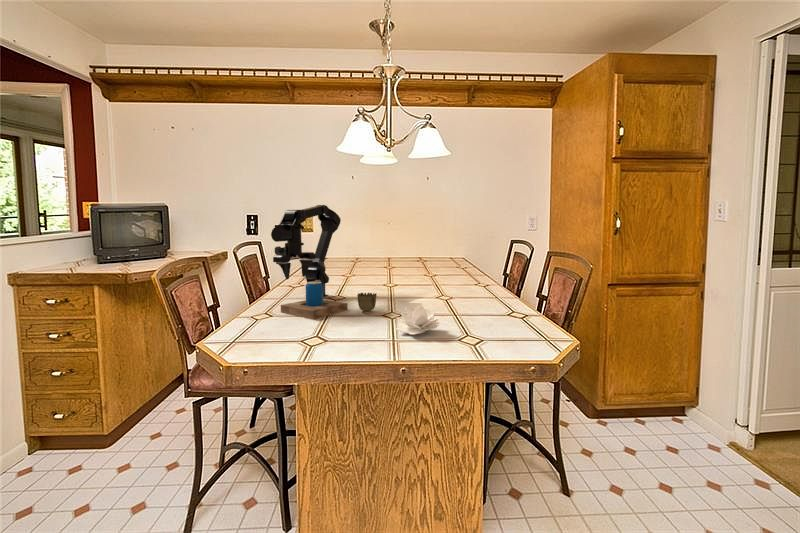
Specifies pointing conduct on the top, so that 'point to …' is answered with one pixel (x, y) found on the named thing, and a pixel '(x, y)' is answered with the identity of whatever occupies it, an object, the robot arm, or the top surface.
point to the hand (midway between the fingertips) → (295, 277)
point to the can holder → (313, 309)
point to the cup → (366, 302)
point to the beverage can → (314, 294)
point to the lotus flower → (417, 321)
